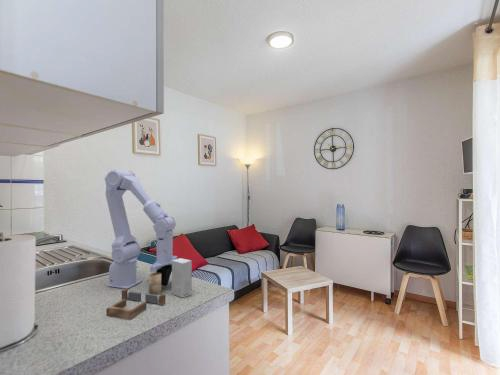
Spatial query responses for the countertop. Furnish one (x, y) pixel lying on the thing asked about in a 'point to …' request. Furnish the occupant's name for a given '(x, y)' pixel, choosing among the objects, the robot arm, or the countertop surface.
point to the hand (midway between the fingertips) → (164, 285)
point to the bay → (124, 310)
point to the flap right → (152, 298)
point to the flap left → (134, 295)
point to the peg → (155, 283)
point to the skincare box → (181, 277)
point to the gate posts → (161, 297)
